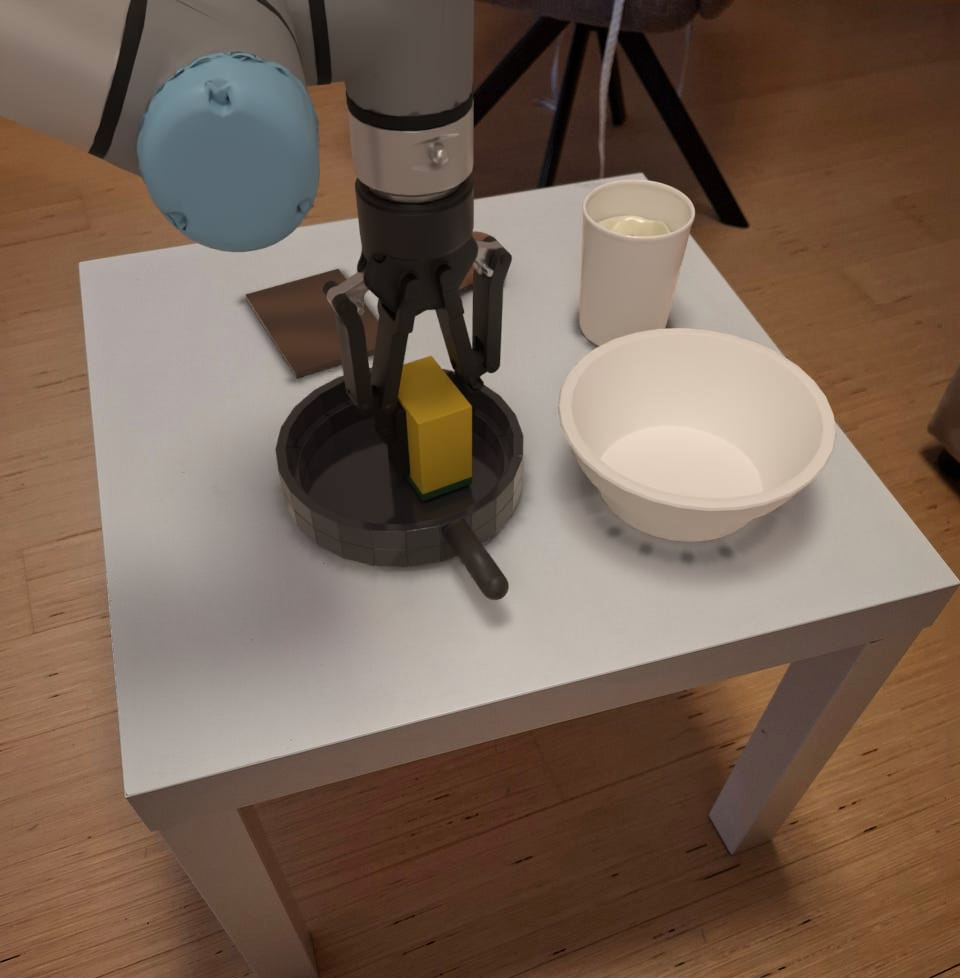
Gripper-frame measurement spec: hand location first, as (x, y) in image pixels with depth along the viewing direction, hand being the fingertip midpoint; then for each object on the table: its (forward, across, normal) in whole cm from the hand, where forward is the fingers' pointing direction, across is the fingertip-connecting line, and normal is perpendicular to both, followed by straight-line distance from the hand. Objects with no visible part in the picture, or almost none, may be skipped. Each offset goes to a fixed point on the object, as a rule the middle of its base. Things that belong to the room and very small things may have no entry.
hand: (428, 455), depth 78 cm
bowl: (+2, +18, -11) cm, 21 cm away
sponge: (+1, 0, 0) cm, 1 cm away
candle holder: (+2, +26, +10) cm, 28 cm away
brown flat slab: (+2, 0, +24) cm, 24 cm away
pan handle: (-1, -2, -13) cm, 13 cm away
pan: (+2, -2, 0) cm, 3 cm away
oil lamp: (+2, +16, +24) cm, 29 cm away
